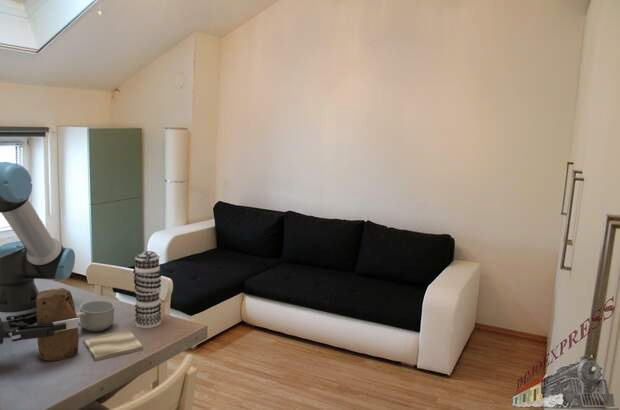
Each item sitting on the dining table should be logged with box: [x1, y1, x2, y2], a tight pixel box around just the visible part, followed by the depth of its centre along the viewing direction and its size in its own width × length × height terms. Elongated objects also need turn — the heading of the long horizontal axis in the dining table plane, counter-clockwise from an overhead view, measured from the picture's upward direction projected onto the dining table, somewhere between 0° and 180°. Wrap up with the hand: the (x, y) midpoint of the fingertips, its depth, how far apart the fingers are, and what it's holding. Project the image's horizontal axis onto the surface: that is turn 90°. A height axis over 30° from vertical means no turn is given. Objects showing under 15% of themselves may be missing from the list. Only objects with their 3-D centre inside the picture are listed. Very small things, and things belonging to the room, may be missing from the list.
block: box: [35, 287, 80, 362], centre depth 153 cm, size 11×8×20 cm
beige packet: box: [83, 329, 144, 362], centre depth 161 cm, size 14×14×1 cm
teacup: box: [76, 299, 116, 332], centre depth 172 cm, size 14×11×8 cm
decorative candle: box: [132, 250, 163, 329], centre depth 177 cm, size 9×9×25 cm
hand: (74, 317), depth 155 cm, fingers open, 9 cm apart
